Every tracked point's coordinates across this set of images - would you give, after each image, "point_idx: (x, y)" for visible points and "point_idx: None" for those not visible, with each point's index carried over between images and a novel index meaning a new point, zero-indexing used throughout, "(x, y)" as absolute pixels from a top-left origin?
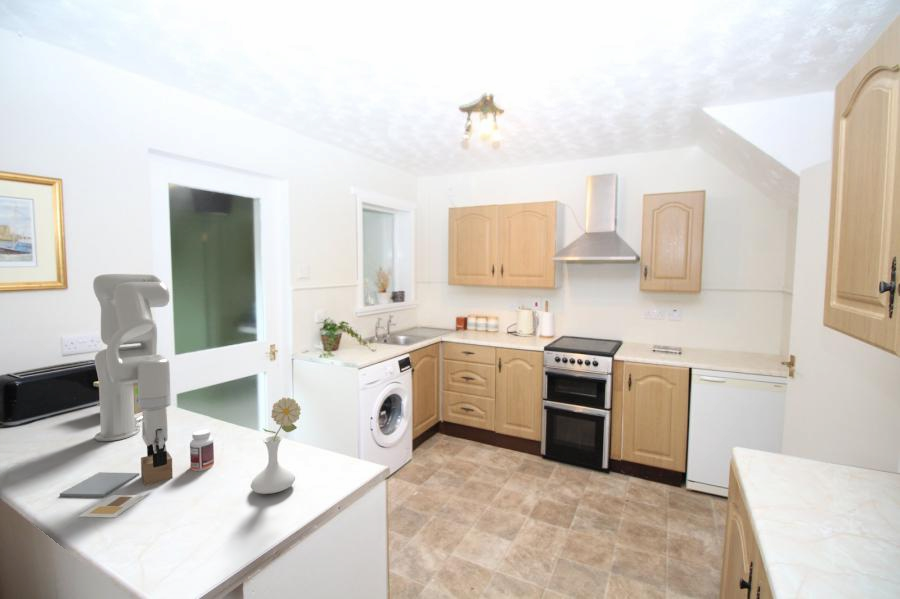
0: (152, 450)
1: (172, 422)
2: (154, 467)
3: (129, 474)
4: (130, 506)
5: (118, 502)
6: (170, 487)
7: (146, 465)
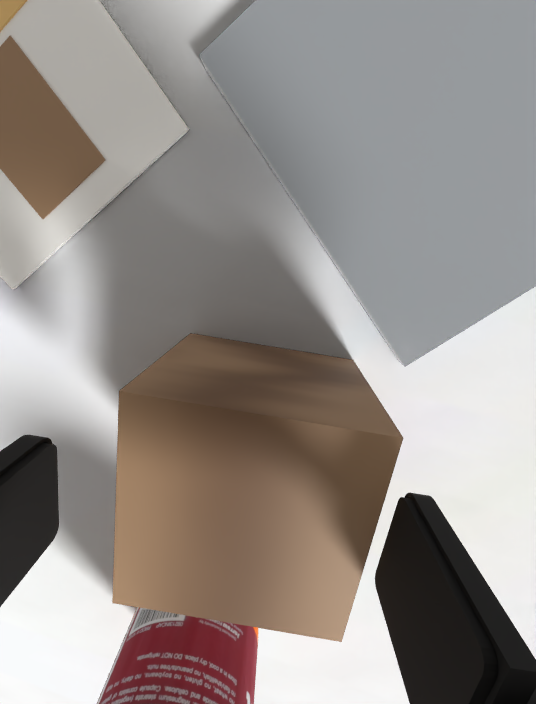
0: (416, 585)
1: None
2: (34, 438)
3: (444, 311)
4: None
5: (12, 122)
6: (47, 421)
7: (123, 405)
